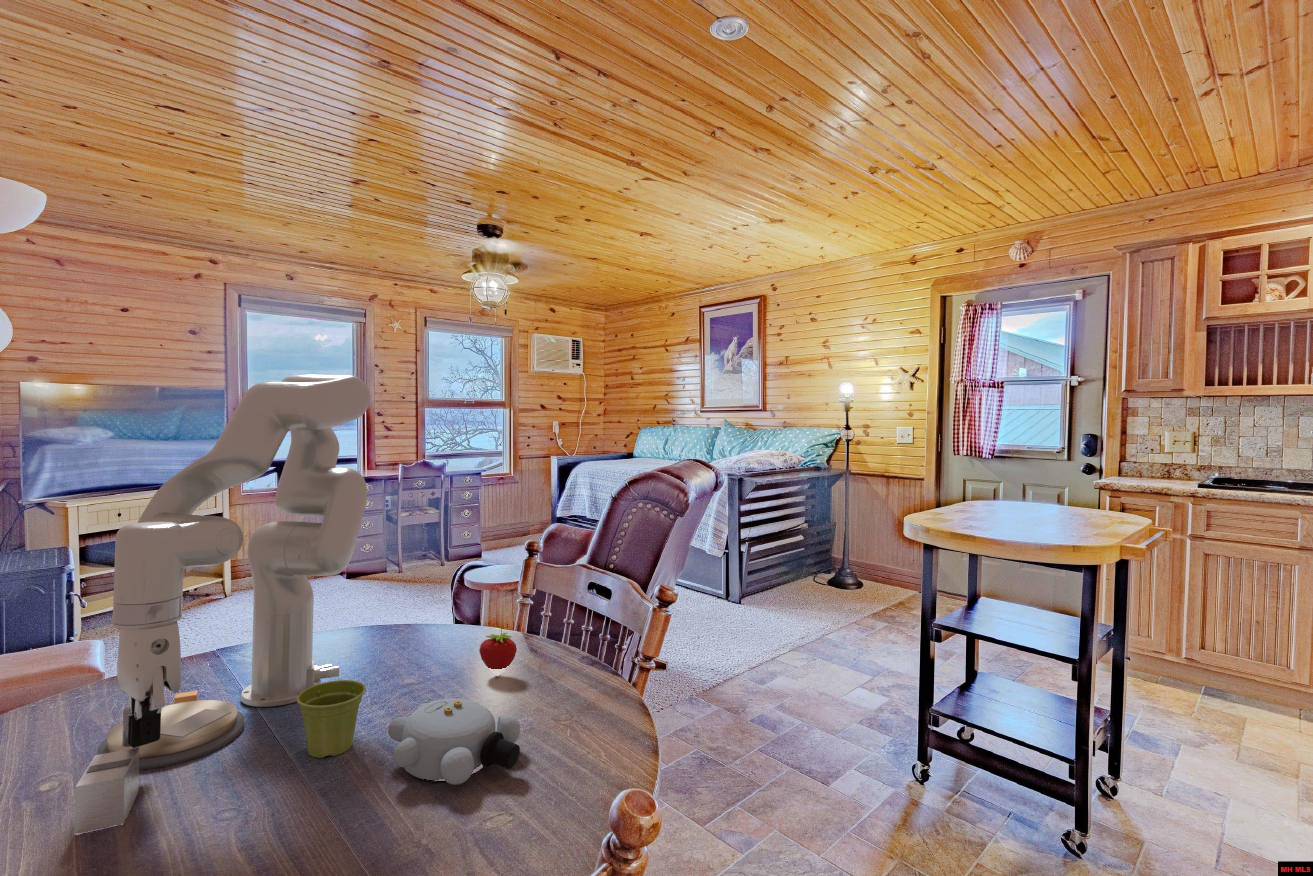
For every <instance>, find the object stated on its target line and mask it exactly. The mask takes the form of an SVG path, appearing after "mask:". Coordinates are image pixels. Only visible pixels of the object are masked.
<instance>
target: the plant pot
mask: <svg viewBox="0 0 1313 876" xmlns="http://www.w3.org/2000/svg"><path fill="white" fill-rule="evenodd" d="M366 691H367V687H366V685H365V684H364V683H363V682H361V681H359V680H358V681H357V680H352V679H349V680H348V679H339V680H332V681H325V682H321V683H320V684H317V685H314V686H311V687H309V688H307V689H305V690H303V691H302V692H301V693H299V695H298V696H297V702H296V703H297V704H298V705H299V708H300V711H301V713H302V719H303V725H304V733H305V741H306V750H307V751H306V752H307V754H308V755H309V756H310V757H313V758H318V759H322V758H325V757H327V756H333V757H335V756H339V755H342V754H343V753H345V752H347V751H349V749H350V748H351V747H352V745H353V744H354V743H353V742H354V737H355V731H356V725H357V719H358V714H359V708H360V704H361V702H362V700H363V699H362V698H363V696H364V694H365V693H366Z"/></svg>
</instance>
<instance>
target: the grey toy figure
mask: <svg viewBox="0 0 1313 876" xmlns="http://www.w3.org/2000/svg"><path fill="white" fill-rule="evenodd" d="M496 725H497V726H496ZM387 729H388V730H387V733H388V736H389V737H390V738H391V739H392V740H393V741H395V742H397V745H396V746H395V748H394V749H393V753H392V759H393V762H394V764H395V765H396V766H398V767H400V768H403V769H404V770H405V772H408V773H409V774H410V775H412V776H413V777H416V778H418V779H421V780H424V779H427V780H426V781H428V780H439V779H444V780H445V781H446V782H445V783H448V784H449V785H461V784H463V783H465V782H466V781H468V780H469V779H470V777H471V774H472V772H473V770H474V769H476V768H477V767H479V766H480V765H481V764H482V765H483V766H485V768H486V767H487V768H491V767H492V766H493V765H495V766H498V767H501V768H503V769H506V770H511V769H513V768H514V767H515V766H516V764H517V762H518V760H519V757H520V755H521V754H520V753H521V747H520V745H519V744H517V743H516V742H517V741H518V739H519V736H520V734H521V726H520V723H519V720H518V719H517V718H515V717H514V716H513V715H512V716H511V715H508V714H506V715H499V716H498V718H497V723H496V720H495V717H494V715H493V713H492V712H491V711H490V710H489V708H488V707H485V706H484V705H482V704H480V703H479V702H478V701H474V700H469V699H465V698H454V697H453V698H444V699H443V698H442V699H438V700H437V699H436V700H434V701H430V702H424V703H420V704H419V705H418V706H417V707H416V709H415V711H413V712H412V713H411V714H410V715H409V716H407V717H405V716H400V717H399V716H398V717H395V718H393V719H392V720H391V722H390V723H389V724H388V728H387Z"/></svg>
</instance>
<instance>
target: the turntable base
mask: <svg viewBox="0 0 1313 876" xmlns="http://www.w3.org/2000/svg"><path fill="white" fill-rule="evenodd" d="M173 701H174V702H173V704H177V703H183V702H190V701H199V690H191V691H185V692H177V693H176V694H175V695H174V698H173ZM244 728H245V716H244V714H243V713H242V712H241V711H239V710H237V722H236V724H235V725H234V726H233V727H232V728H231V729H230V730H229V731H228V732H226V733H225V734H223V735H222V736H220V737H218V738H216V739H214V740H212V741H210V742H207V743H205V744H202V745H200V746H197V747H194V748H191V749H187V750H184V751H180V752H176V753H172V754H167V755H162V756H155V757H146V758H139V771H140V770H150V769H156V768H157V769H158V768H163V767H167V766H172V765H176V764H180V763H184V762H187V761H191V760H194V759H197V758H199V757H203V756H205V755H207V754H210V753H212V752H214V751H217V750H218V749H221V748H222V747H224V746H226V745H228V744H229V743H231V742H232V741H234V740H235V739H236V738H237V737H239V735H240V734H241V733H242V732H243V731H244ZM96 751H97V752H96V753H97V754H96V755H100V754H106V753H109V752H108V751H107V737H106V738H104V740H103V741H102V742H101V743H100V744H99V745H98V747H97V750H96Z"/></svg>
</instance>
